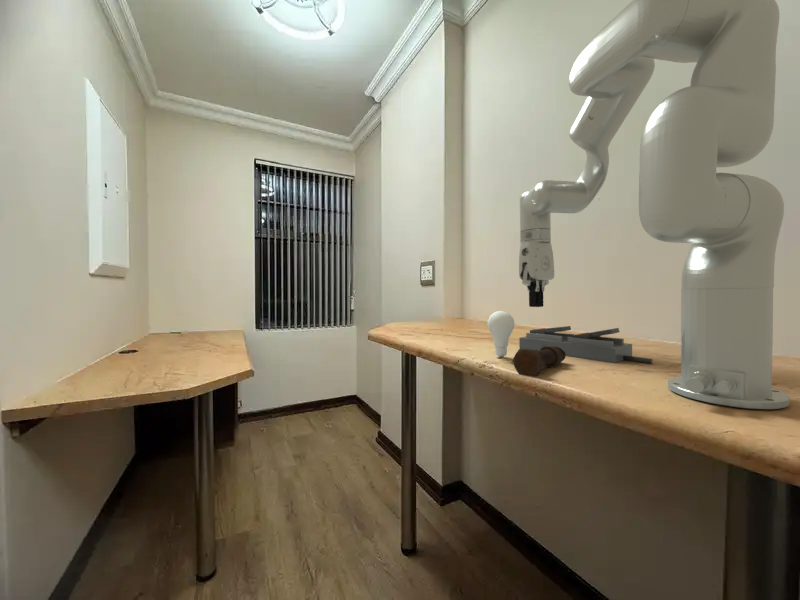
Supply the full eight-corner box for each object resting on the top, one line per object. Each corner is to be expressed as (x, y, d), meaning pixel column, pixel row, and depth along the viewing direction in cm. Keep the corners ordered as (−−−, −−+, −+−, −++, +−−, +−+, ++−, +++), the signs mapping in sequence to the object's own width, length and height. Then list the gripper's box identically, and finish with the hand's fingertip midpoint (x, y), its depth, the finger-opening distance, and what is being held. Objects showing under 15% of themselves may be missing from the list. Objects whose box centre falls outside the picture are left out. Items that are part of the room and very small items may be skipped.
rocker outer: (563, 332, 82) (562, 326, 82) (530, 335, 89) (529, 329, 89) (571, 331, 84) (570, 325, 84) (538, 333, 91) (537, 328, 91)
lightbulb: (482, 356, 81) (482, 310, 80) (504, 354, 83) (504, 309, 82) (497, 360, 75) (496, 312, 75) (520, 358, 77) (519, 311, 76)
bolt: (562, 371, 72) (529, 384, 62) (542, 357, 75) (508, 366, 65) (576, 350, 70) (545, 358, 60) (555, 336, 73) (522, 342, 63)
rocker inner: (612, 335, 73) (610, 328, 73) (572, 341, 80) (570, 335, 80) (620, 333, 75) (618, 327, 76) (580, 339, 82) (578, 333, 83)
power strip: (643, 367, 66) (643, 346, 66) (519, 348, 89) (519, 333, 89) (659, 360, 72) (659, 341, 72) (538, 344, 94) (538, 330, 94)
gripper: (532, 233, 82) (533, 308, 82) (563, 238, 90) (564, 305, 91) (506, 238, 88) (507, 307, 88) (537, 241, 96) (538, 305, 97)
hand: (536, 306), depth 89 cm, fingers closed
